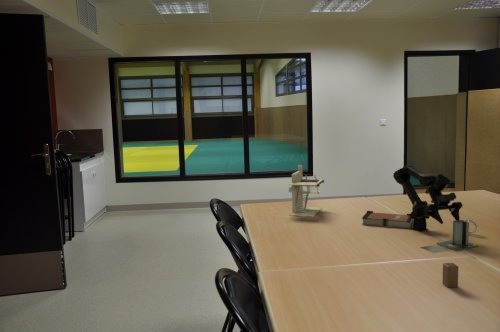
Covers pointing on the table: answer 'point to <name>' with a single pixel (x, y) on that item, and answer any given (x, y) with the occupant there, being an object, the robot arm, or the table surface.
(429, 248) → the grey square plate
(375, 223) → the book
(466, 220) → the ring
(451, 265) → the wooden block
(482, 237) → the table surface
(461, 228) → the grey clip
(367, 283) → the table surface
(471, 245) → the rail plate
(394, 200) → the table surface
